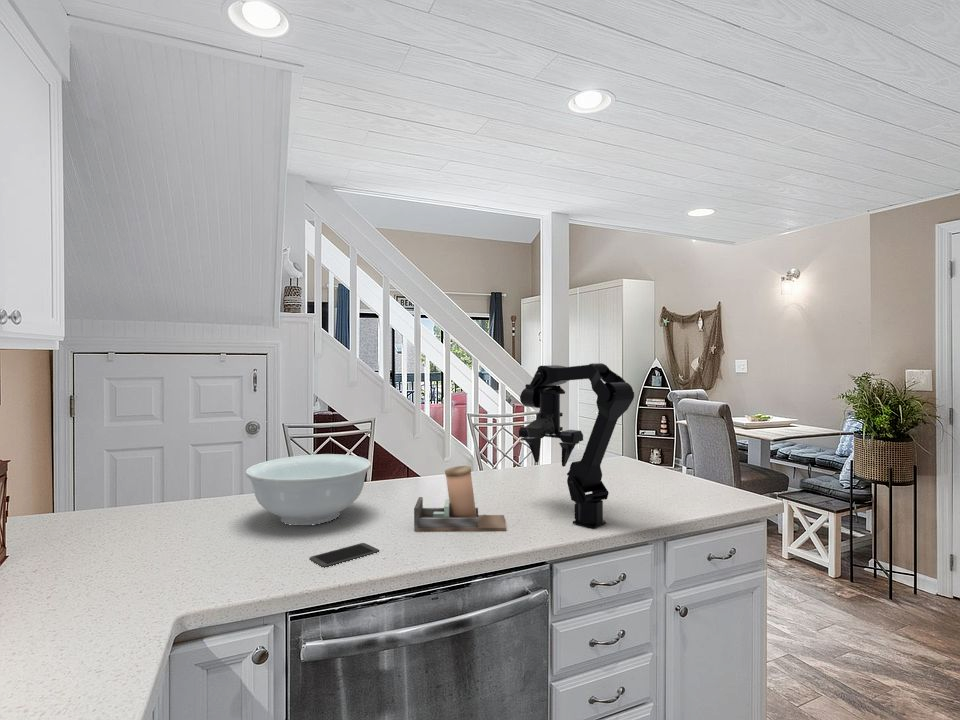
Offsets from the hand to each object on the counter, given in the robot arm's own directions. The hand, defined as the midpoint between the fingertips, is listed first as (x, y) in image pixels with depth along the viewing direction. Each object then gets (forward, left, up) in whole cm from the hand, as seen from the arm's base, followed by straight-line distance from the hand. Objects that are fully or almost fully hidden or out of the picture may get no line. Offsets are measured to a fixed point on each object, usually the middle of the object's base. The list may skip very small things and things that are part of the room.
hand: (550, 464), depth 154 cm
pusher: (+14, +30, -12) cm, 35 cm away
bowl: (+45, +49, -13) cm, 68 cm away
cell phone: (+14, +59, -14) cm, 62 cm away
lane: (+10, +26, -13) cm, 31 cm away
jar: (+9, +26, -12) cm, 30 cm away
